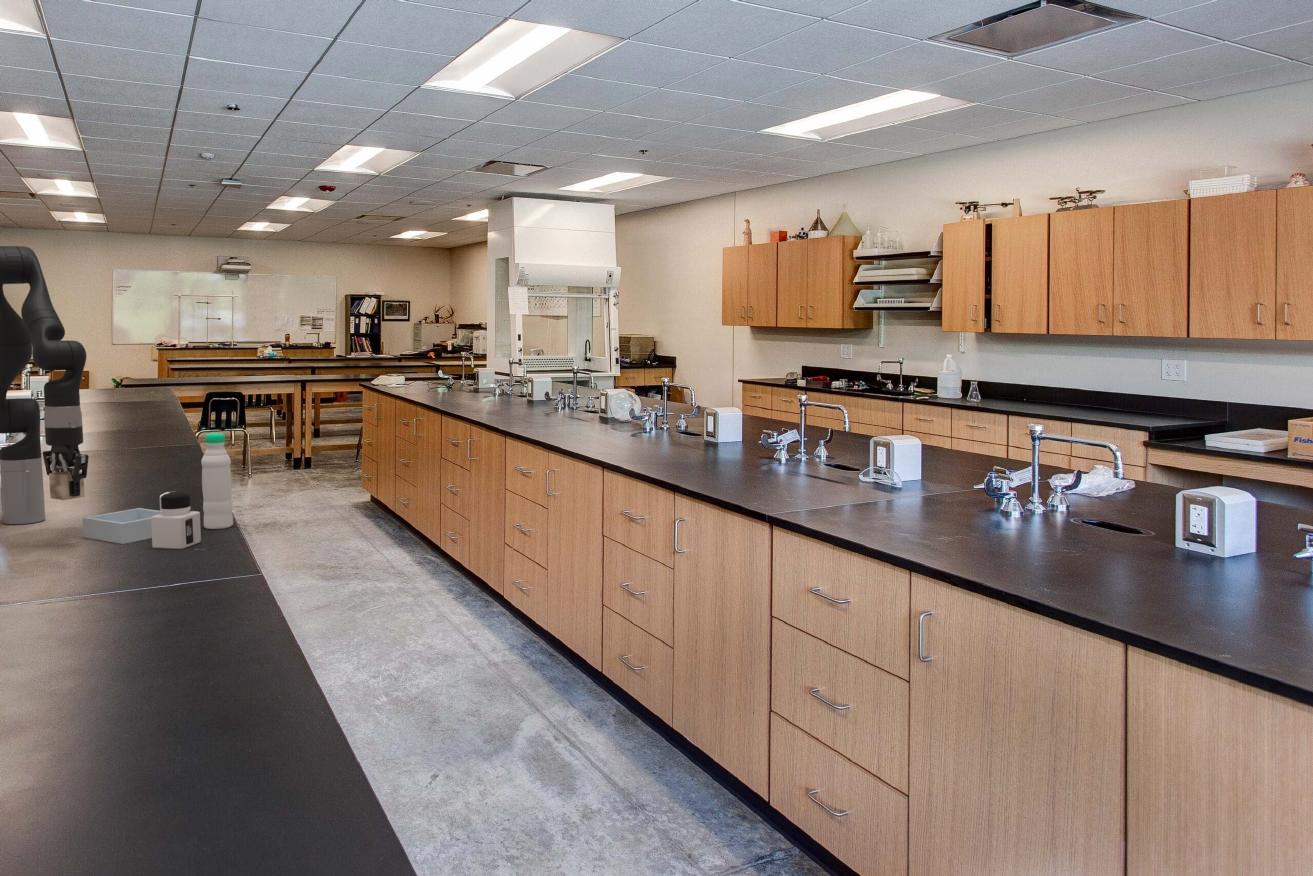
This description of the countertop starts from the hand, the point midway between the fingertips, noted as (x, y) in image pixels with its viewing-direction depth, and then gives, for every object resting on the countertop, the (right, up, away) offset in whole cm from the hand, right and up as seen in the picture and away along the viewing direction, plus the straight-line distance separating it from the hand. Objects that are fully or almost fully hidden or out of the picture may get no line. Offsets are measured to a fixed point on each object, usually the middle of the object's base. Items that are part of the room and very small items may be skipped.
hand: (67, 494), depth 214 cm
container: (+25, -13, +3) cm, 28 cm away
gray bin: (+8, -11, +13) cm, 19 cm away
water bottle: (+25, -10, +24) cm, 36 cm away
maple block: (0, -1, 0) cm, 1 cm away
